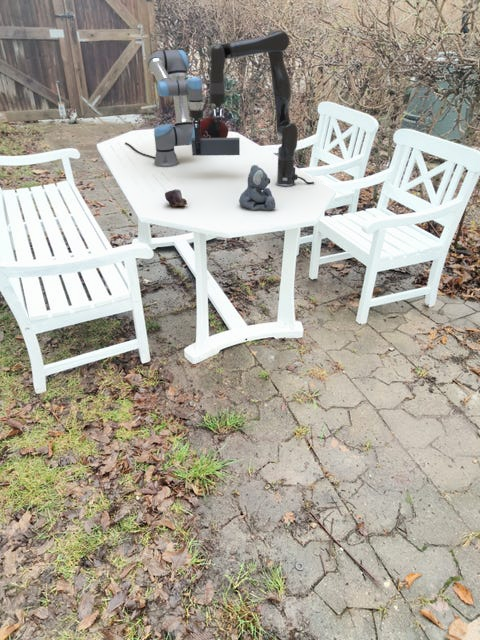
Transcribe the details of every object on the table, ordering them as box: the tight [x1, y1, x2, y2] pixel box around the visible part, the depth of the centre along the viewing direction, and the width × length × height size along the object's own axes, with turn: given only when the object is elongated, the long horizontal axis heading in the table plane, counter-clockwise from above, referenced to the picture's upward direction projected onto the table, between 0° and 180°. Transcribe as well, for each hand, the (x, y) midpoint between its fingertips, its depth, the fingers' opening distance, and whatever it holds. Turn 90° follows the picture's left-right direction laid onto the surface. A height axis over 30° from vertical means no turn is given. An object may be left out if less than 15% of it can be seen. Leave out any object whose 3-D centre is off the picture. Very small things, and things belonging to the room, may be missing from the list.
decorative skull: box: [200, 116, 229, 138], centre depth 324 cm, size 21×24×25 cm
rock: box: [164, 188, 188, 207], centre depth 228 cm, size 12×9×10 cm
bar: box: [191, 137, 241, 157], centre depth 260 cm, size 27×5×8 cm, turn 90°
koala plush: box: [238, 164, 276, 211], centre depth 224 cm, size 17×18×20 cm
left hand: (198, 152), depth 262 cm, fingers closed on bar, 5 cm apart
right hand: (218, 127), depth 228 cm, fingers open, 8 cm apart
